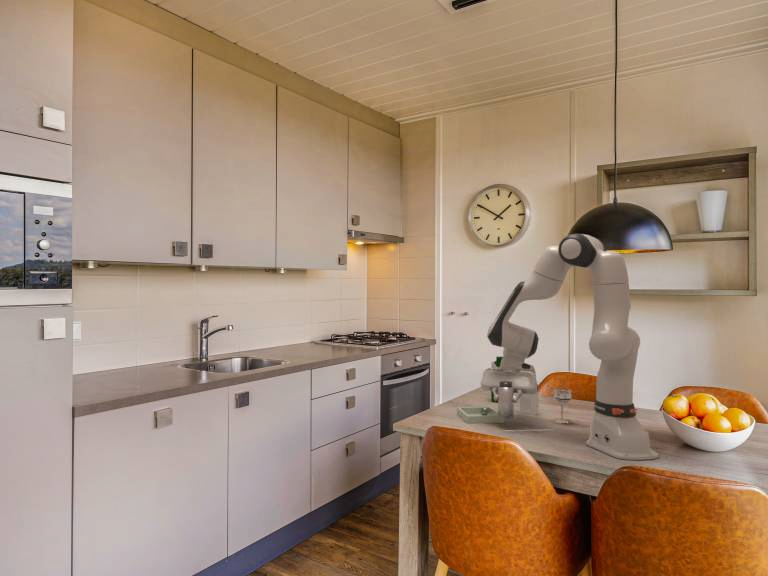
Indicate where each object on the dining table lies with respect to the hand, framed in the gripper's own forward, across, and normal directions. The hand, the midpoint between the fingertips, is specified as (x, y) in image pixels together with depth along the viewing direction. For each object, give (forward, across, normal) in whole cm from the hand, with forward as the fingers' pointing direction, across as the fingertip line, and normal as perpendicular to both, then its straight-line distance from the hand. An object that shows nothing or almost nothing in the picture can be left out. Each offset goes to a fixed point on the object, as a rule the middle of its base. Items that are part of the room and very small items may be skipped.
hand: (505, 400), depth 187 cm
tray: (+1, -12, +13) cm, 18 cm away
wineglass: (-8, +16, +23) cm, 30 cm away
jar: (-13, +2, +28) cm, 31 cm away
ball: (-3, -12, +16) cm, 20 cm away
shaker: (+4, 0, +5) cm, 6 cm away
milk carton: (-24, -12, +39) cm, 48 cm away
